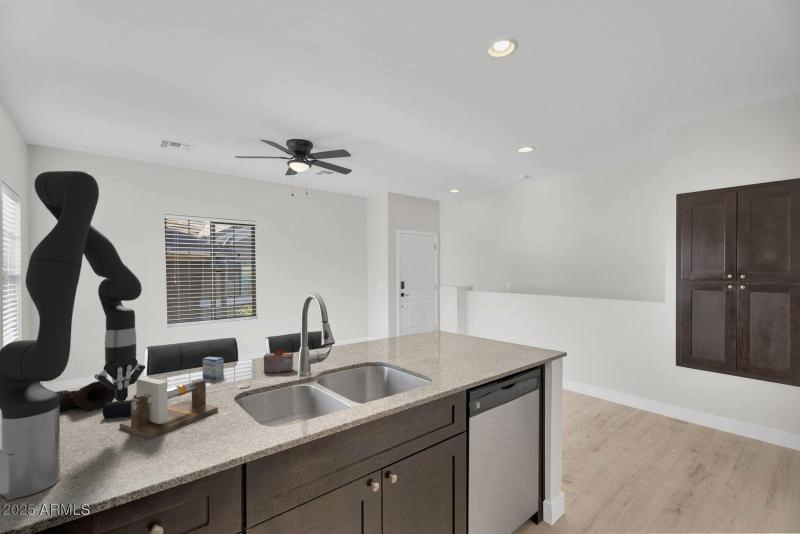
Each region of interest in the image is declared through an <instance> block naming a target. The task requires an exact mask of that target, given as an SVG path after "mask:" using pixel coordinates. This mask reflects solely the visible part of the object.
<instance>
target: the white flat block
mask: <svg viewBox="0 0 800 534" xmlns="http://www.w3.org/2000/svg"><path fill="white" fill-rule="evenodd" d="M135 384H136V387H135V388H136V392H135V395H136V398H137V397H140V396H144V397H145V396H148V395H151V405H149V406H148V421H151V422H155V423H158V424H160V423H163V422H166V421H167V407H168V399H167V390H168V381H165V380H161V379H156V378H152V377H149V376H148V377H147V376H143V377H142V376H141V377H139V378H138V379H137V381H136V382H135Z"/></svg>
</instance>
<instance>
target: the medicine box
mask: <svg viewBox="0 0 800 534" xmlns="http://www.w3.org/2000/svg"><path fill="white" fill-rule="evenodd" d="M224 359H225V358H224V357H219V356H218V357H217V356H207V357H204V358H202V378H203V379H212V378H218V379H220V378H219V377H221V376H223V377H224V375H225V374H224V373H225V372H224V371H225V370H224V369H225V368H224V366H225V365H224V364H225V362H224V361H225V360H224ZM221 378H222V377H221Z"/></svg>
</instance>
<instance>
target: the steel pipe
mask: <svg viewBox="0 0 800 534" xmlns="http://www.w3.org/2000/svg"><path fill="white" fill-rule="evenodd" d="M195 390H197V383H196V382H192V381H191V382H188V383H185V384H180V385H176V386H175V387H173V388H169V389H168V388H167V400H170V399H173V398H176V397H180V396H184V395H186V394H188V393H192V391H195ZM145 397H147V398H148V406H149V405H151V395H148V396H145ZM131 407H132V409H133V410H136V408H137V404H136V401H135V400H134V401H132V402H131Z"/></svg>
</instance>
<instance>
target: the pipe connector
mask: <svg viewBox="0 0 800 534" xmlns="http://www.w3.org/2000/svg"><path fill="white" fill-rule="evenodd" d="M133 398H136V394H135V395H134V396H133V397H132V398H131V399H133ZM131 399H130V400H127V399H126V400H124V401H121V402H119V401H117V400H116V401H112V402H107V403H106V404H105V405H104V408H102V417H103V418H104V419H107V418H110V419H111V418H120V417H129V416H130V417H131Z"/></svg>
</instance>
